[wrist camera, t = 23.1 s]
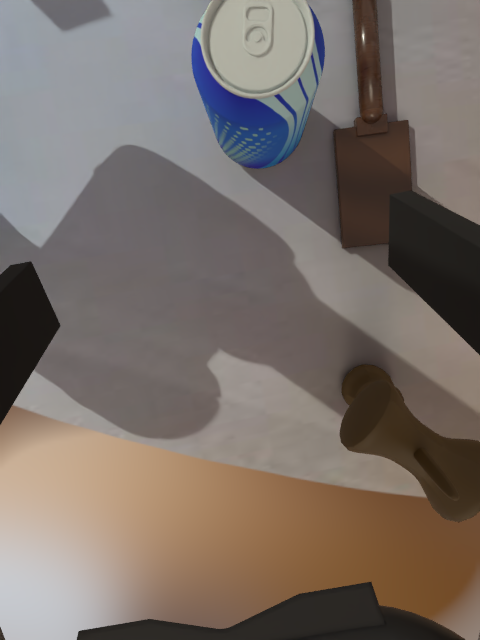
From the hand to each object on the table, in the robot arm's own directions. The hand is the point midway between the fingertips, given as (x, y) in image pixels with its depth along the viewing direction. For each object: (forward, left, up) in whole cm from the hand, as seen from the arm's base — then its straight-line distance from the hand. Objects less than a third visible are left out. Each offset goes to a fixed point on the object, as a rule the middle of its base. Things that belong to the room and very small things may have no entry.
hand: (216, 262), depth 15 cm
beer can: (-7, +11, -27) cm, 29 cm away
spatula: (+1, +18, -26) cm, 32 cm away
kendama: (+18, -3, -27) cm, 32 cm away
